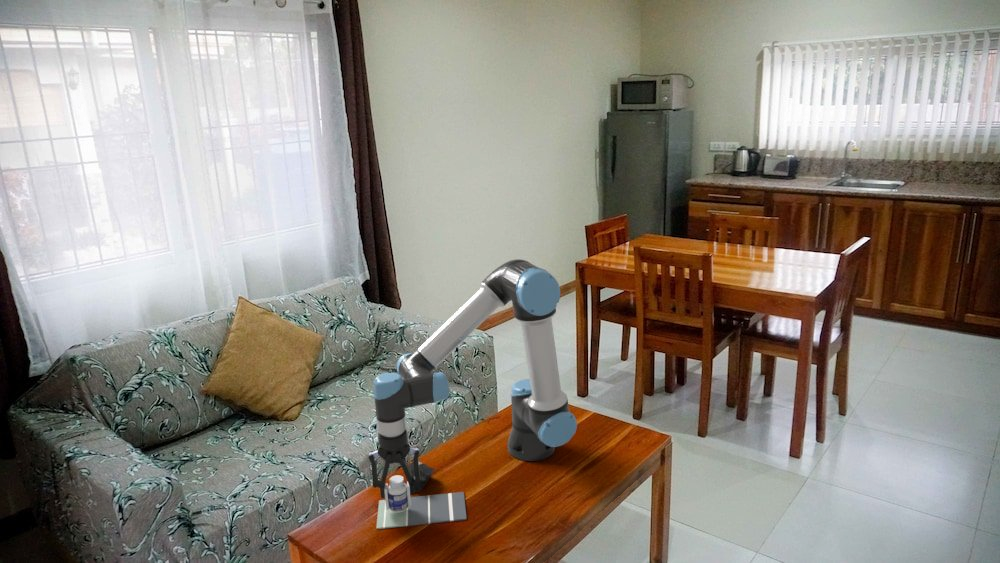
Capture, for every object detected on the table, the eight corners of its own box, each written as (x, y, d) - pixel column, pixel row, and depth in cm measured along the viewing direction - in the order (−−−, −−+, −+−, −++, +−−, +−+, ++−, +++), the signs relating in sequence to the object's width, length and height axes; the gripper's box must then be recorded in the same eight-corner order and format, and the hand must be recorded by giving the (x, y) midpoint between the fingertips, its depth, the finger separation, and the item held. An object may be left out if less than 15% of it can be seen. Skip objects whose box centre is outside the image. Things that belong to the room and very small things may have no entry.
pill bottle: (387, 504, 177) (385, 476, 174) (406, 499, 179) (404, 471, 176) (391, 515, 172) (388, 486, 170) (410, 510, 174) (408, 482, 171)
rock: (394, 486, 188) (393, 469, 186) (412, 470, 195) (410, 454, 194) (422, 496, 183) (421, 479, 182) (439, 479, 191) (438, 463, 189)
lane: (463, 493, 184) (463, 491, 184) (466, 519, 172) (466, 518, 172) (379, 501, 181) (379, 500, 181) (376, 529, 170) (376, 528, 170)
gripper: (426, 420, 173) (432, 494, 180) (358, 426, 171) (366, 500, 178) (427, 434, 166) (432, 511, 173) (355, 440, 164) (363, 517, 171)
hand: (398, 505), depth 175 cm, fingers closed on pill bottle, 5 cm apart
